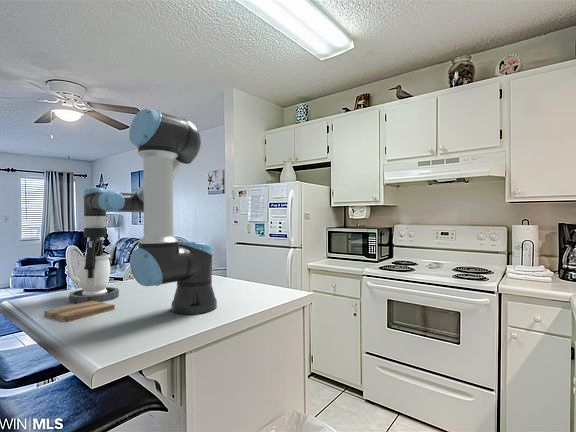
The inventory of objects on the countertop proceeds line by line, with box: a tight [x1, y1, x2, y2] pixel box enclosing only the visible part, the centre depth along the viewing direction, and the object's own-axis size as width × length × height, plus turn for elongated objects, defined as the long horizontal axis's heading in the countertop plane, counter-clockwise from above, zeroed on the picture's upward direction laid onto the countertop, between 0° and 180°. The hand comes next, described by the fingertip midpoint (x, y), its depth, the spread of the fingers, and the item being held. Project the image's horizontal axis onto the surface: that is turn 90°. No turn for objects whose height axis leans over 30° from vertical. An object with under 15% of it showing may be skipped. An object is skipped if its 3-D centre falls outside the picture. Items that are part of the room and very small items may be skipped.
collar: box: [68, 286, 120, 304], centre depth 125 cm, size 16×16×2 cm
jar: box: [78, 253, 111, 296], centre depth 125 cm, size 11×10×15 cm
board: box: [43, 301, 116, 323], centre depth 106 cm, size 13×15×2 cm
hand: (94, 283), depth 125 cm, fingers closed on jar, 10 cm apart
